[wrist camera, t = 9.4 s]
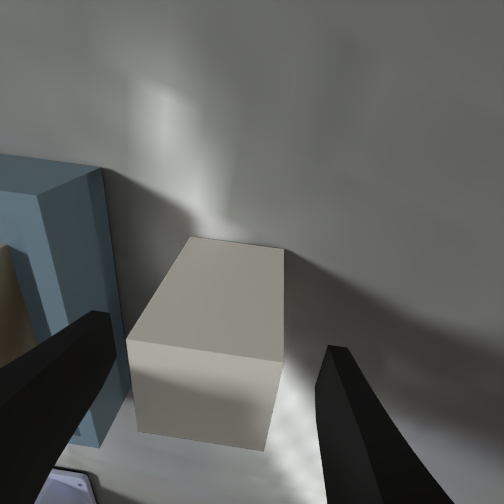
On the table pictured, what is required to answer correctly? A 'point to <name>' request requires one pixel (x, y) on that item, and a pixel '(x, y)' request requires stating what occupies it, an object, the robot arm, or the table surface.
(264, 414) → the cream carton
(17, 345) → the oak block
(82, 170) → the tote
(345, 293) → the table surface
